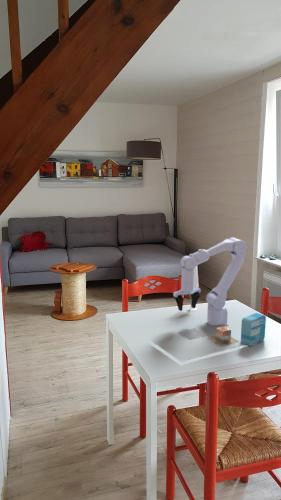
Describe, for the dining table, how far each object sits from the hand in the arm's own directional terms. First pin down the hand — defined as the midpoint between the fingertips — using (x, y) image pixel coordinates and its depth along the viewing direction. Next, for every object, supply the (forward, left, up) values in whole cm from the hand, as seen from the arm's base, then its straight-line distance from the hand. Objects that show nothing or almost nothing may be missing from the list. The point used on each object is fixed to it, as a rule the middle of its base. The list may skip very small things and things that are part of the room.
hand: (186, 309), depth 197 cm
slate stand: (+4, +10, -9) cm, 14 cm away
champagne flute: (-18, -20, -10) cm, 29 cm away
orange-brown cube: (-4, +22, -8) cm, 24 cm away
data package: (-16, +28, -10) cm, 34 cm away
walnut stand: (-4, +22, -9) cm, 24 cm away
